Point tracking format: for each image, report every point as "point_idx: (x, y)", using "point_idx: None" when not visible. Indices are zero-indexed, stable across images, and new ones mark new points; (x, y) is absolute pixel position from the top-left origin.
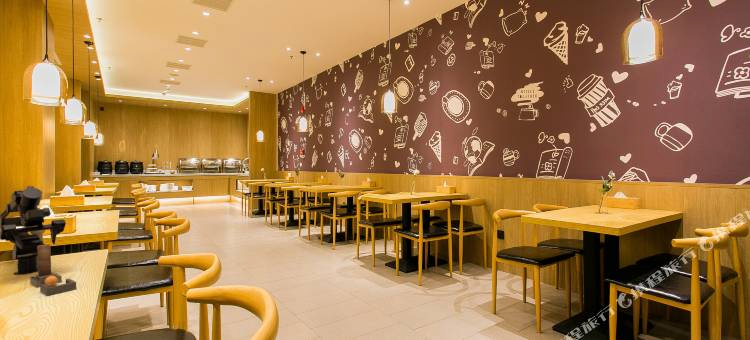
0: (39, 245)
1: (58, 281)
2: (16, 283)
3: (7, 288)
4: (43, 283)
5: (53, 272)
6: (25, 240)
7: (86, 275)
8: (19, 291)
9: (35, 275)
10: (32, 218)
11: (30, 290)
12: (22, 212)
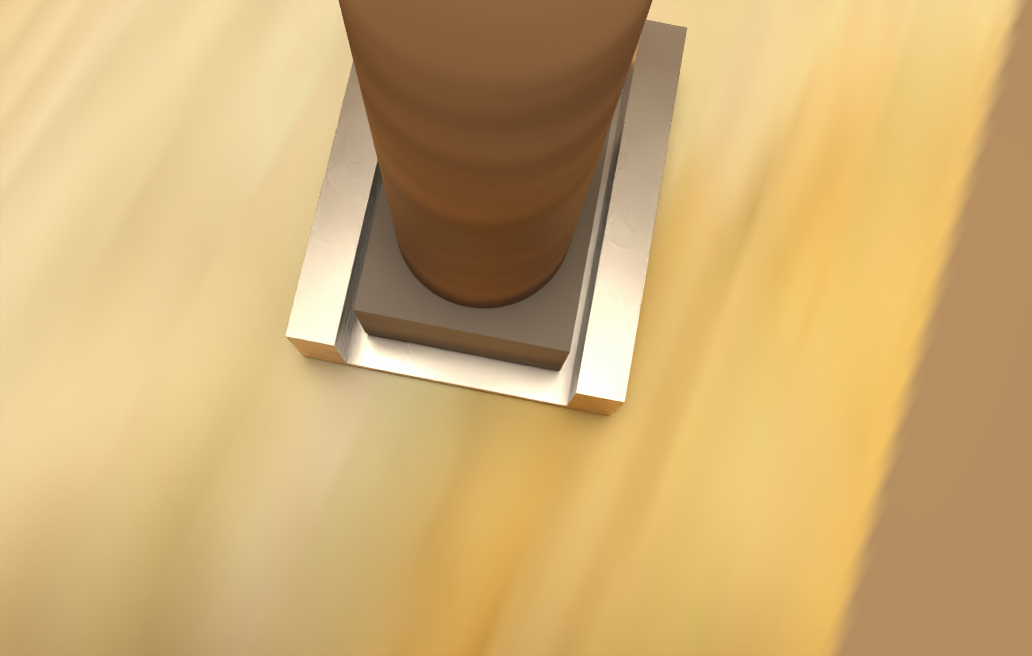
0: (572, 8)
1: None
2: (712, 628)
3: (881, 440)
4: None
5: (300, 337)
6: None
7: (24, 40)
8: (849, 112)
9: (570, 344)
10: None
11: (760, 23)
12: None
